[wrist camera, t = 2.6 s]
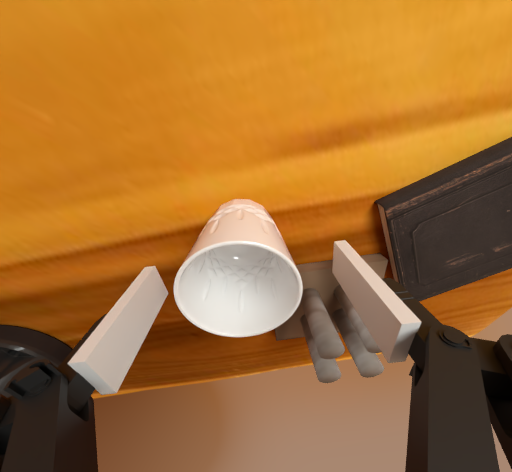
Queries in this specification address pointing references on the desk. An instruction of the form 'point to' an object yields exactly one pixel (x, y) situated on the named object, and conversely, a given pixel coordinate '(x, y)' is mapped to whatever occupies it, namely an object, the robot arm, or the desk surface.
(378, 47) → the desk surface
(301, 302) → the peg stand
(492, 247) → the hardcover book
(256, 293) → the white cup
